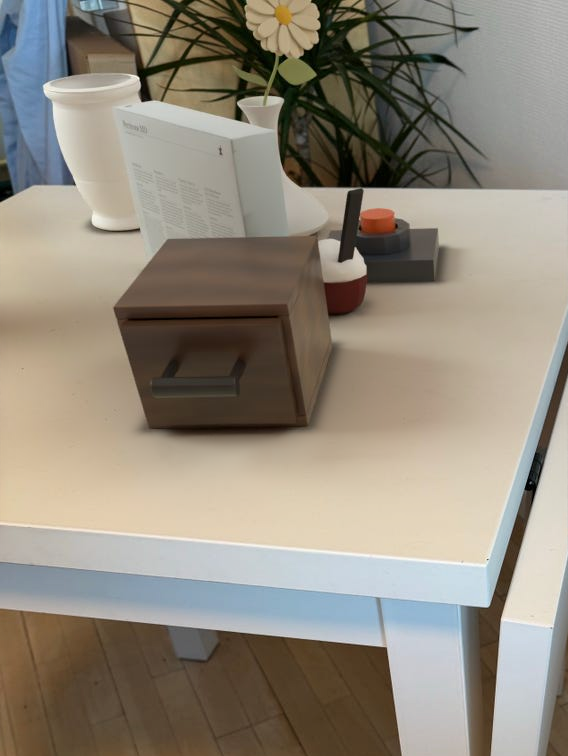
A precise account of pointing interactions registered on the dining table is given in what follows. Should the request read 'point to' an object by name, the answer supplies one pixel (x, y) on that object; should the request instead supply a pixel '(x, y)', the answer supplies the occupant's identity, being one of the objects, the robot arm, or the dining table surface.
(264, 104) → the flower in vase
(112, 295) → the dining table surface
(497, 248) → the dining table surface
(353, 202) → the cocoa
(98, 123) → the jar
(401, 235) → the console
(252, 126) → the skincare box
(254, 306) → the cabinet
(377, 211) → the button
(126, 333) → the drawer
